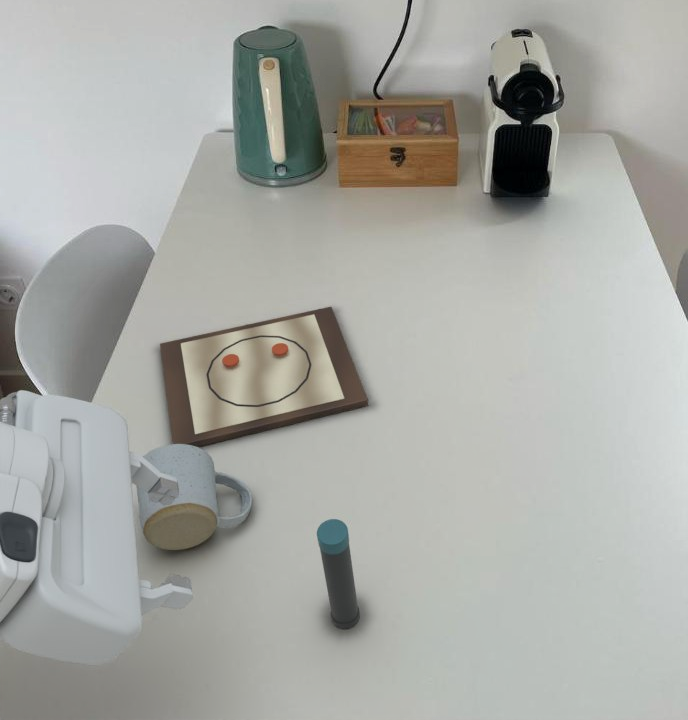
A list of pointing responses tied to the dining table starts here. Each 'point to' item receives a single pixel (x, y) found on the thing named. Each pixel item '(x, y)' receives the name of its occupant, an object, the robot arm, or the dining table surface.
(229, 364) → the left eye
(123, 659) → the dining table surface
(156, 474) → the robot arm
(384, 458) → the dining table surface
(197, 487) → the ceramic mug
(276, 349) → the right eye
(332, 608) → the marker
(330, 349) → the brown framed board
